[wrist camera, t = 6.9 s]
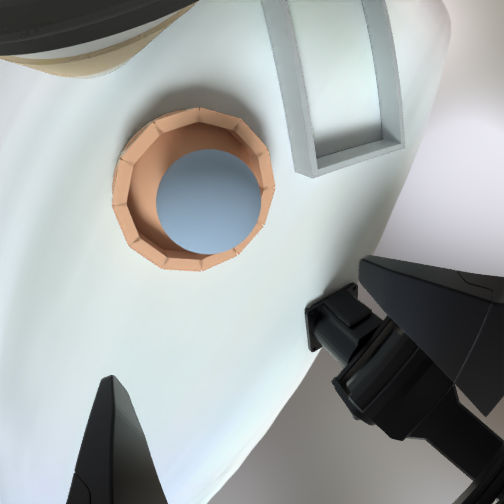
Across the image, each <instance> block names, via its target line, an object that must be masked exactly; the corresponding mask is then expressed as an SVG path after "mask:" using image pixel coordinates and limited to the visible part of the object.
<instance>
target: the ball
mask: <svg viewBox="0 0 504 504" xmlns="http://www.w3.org/2000/svg"><path fill="white" fill-rule="evenodd" d="M156 209H157V215H158V218H159V221H160V223H161V226H162V228H163V229H164V231H165V232H166V234H167V235H168V236H169V237H170V238H171V239H172V240H173V241H174V242H175V243H176V244H178V245H179V246H181V247H182V248H184V249H186V250H188V251H191V252H195V253H199V254H217V253H222V252H225V251H228V250H230V249H232V248H234V247H236V246H237V245H239V244H240V243H241V242H242V241H244V240H245V239H246V238H247V237H248V236H249V234H250V233H251V232H252V230H253V229H254V227H255V225H256V223H257V221H258V218H259V215H260V210H261V192H260V188H259V184H258V182H257V179H256V177H255V175H254V174H253V172H252V171H251V169H250V168H249V167H248V166H247V165H246V164H245V163H244V162H243V161H242V160H241V159H239V158H238V157H236V156H234V155H232V154H230V153H228V152H225V151H221V150H215V149H203V150H198V151H194V152H191V153H188V154H186V155H184V156H182V157H181V158H179V159H178V160H176V161H175V162H174V163H173V164H172V165H171V166H170V167H169V168H168V169H167V171H166V172H165V174H164V175H163V177H162V179H161V181H160V183H159V186H158V190H157V196H156Z"/></svg>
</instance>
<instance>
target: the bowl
mask: <svg viewBox="0 0 504 504" xmlns="http://www.w3.org/2000/svg"><path fill="white" fill-rule="evenodd" d="M203 149H215V150H221V151H225V152H228V153H230V154H232V155H234V156H236V157H238V158H239V159H241V160H242V161H243V162H244V163H245V164H246V165H247V166H248V167H249V168H250V169H251V171H252V172H253V174H254V175H255V177H256V179H257V182H258V184H259V188H260V192H261V210H260V215H259V218H258V221H257V223H256V225H255V227H254V229H253V230H252V232H251V233H250V234H249V236H248V237H247V238H246V239H245V240H244V241H242V242H241V243H240V244H239V245H237V246H236V247H234V248H232V249H230V250H228V251H225V252H222V253H217V254H199V253H195V252H191V251H188V250H186V249H184V248H182V247H181V246H179V245H178V244H176V243H175V242H174V241H173V240H172V239H171V238H170V237H169V236H168V235H167V234H166V232H165V231H164V229H163V228H162V226H161V223H160V221H159V218H158V215H157V209H156V196H157V190H158V186H159V183H160V181H161V179H162V177H163V175H164V174H165V172H166V171H167V169H168V168H169V167H170V166H171V165H172V164H173V163H174V162H175V161H176V160H178V159H179V158H181V157H182V156H184V155H186V154H188V153H191V152H194V151H198V150H203ZM267 149H268V148H267V147H266V146H265V145H264V144H263V142H262V141H261V140H260V139H259V138H258V137H257V136H256V134H255V133H254V132H253V131H252V130H251V129H250V128H249V127H248V125H247V124H246V123H245V122H244V121H243V120H242V119H241V118H237V117H234V116H230V115H227V114H223V113H220V112H216V111H212V110H209V109H205V108H201V107H199V108H198V107H197V108H191V109H186V110H178V111H174V112H170V113H167V114H164V115H162V116H159V117H157V118H156V119H154V120H152V121H150V122H149V123H147V124H146V125H145V126H143V127H142V128H141V129H140V130H139V131H138V132H137V133H136V134H135V135H134V136H133V137H132V138H131V139H130V140H129V142H128V143H127V144H126V146H125V148H124V149H123V151H122V153H121V155H120V157H119V159H118V162H117V164H116V167H115V171H114V175H113V183H112V208H113V210H114V213H115V215H116V218H117V220H118V222H119V225H120V227H121V230H122V232H123V234H124V237H125V239H126V241H127V244H128V246H130V248H132V249H133V250H135V251H136V252H137V253H139V254H140V255H142V256H143V257H145V258H146V259H148V260H149V261H151V262H152V263H154V264H155V265H157V266H158V267H160V268H161V269H162V268H163V269H167V270H184V271H201V270H202V271H204V270H206V269H208V268H211V267H213V266H215V265H217V264H220V263H222V262H224V261H227V260H229V259H231V258H233V257H236V256H237V254H238V255H239V254H240V252H241V251H242V250H243V249H244V248H245V247H246V246H247V245H248V243H249V242H250V241H251V240H252V239H253V238H254V237H255V235H256V234H257V233H258V232H259V231H260V230H261V229H262V228H263V225H265V221H266V218H267V215H268V211H269V208H270V205H271V201H272V198H273V194H274V191H275V188H273V187H275V182H274V177H273V171H272V166H271V161H270V155H269V150H267ZM262 224H263V225H262ZM236 253H237V254H236Z"/></svg>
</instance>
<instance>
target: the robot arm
mask: <svg viewBox="0 0 504 504" xmlns="http://www.w3.org/2000/svg"><path fill="white" fill-rule="evenodd" d="M358 278H359V281H360V283H361V284H362V286H363V287H364V288H365V289H366V290H367V292H368V293H369V294H370V295H371V296H372V297H373V299H374V300H375V301H376V302H377V304H378V305H379V306H380V307H381V308H382V309H383V311H384V312H385V313H386V314H387V317H386V318H385V319H384V320H382V319H381V318H379V317H378V316H377V315H376V314H374V313H373V312H372V310H371V309H370V308H369V307H367V306H366V305H365V304H364V303H362V302H361V301H360V300H358V298H357V297H358V285H357V284H356V283H351V284H349V285H348V286H346V287H344V288H343V289H341V290H339V291H338V292H336V293H334V294H332V295H331V296H329V297H327V298H325V299H324V300H322V301H320V302H318V303H316V304H315V305H313V306H311V307H309V308H308V309H307V310H306V311H305V319H306V328H307V337H308V346H309V350H310V351H311V352H315V351H316V350H318V349H320V348H321V347H324V349H326V351H327V352H328V353H329V354H330V355H331V356H332V357H333V358H334V359H335V360H336V361H337V362H338V363H339V364H340V365H341V366H342V367H343V368H344V369H343V370H342V371H341V372H340V373H339V374H338V375H337V377H334V378H333V380H332V381H331V382H332V384H333V385H334V386H335V390H336V391H337V393H338V394H339V396H340V397H341V398H342V400H343V401H344V403H345V404H346V406H347V407H348V408H349V410H350V412H351V414H352V416H353V417H354V419H356V420H362V421H364V422H365V423H367V424H369V425H375V424H376V425H377V426H378V427H380V428H381V429H382V430H383V431H384V432H385V433H386V434H387V435H388V436H389V437H390V438H392V439H395V440H400V441H403V440H404V439H405V438H411V439H420V440H426V441H427V442H428V443H430V444H431V445H432V446H433V447H434V448H436V449H437V450H438V451H439V452H440V453H441V454H442V455H443V456H445V457H446V458H447V459H448V460H449V461H451V462H452V463H453V464H454V465H455V466H456V467H457V468H459V469H460V470H461V471H462V472H463V473H465V474H466V475H467V476H468V477H469V478H470V479H472V480H473V482H472V483H471V485H470V486H469V487H468V488H467V489H466V490H465V491H464V492H463V493H462V494H461V495H460V496H459V498H458V499H457V500H456V501H455V502H454V503H453V504H492V503H493V502H494V501H495V499H496V500H497V501H498V502H497V503H496V504H504V439H503V438H502V437H501V436H499V435H498V434H497V433H496V432H495V431H494V430H493V429H492V428H490V427H489V426H488V425H487V424H486V423H484V422H483V421H482V420H481V419H480V418H479V417H478V416H477V415H475V414H474V413H473V412H472V411H471V410H470V409H469V408H467V407H466V406H465V405H464V404H463V403H462V402H460V401H459V398H458V395H457V391H456V387H455V384H456V386H457V387H458V388H459V389H460V390H461V391H462V392H463V393H464V394H465V395H466V397H467V398H468V399H469V400H470V401H471V402H472V403H473V404H474V405H475V406H476V408H477V409H478V410H479V411H480V412H481V413H482V414H483V415H484V416H485V417H487V416H488V414H489V413H490V412H491V411H492V410H493V409H494V407H495V406H496V405H497V404H498V403H499V401H500V400H501V399H502V398H503V396H504V277H498V276H490V275H481V274H474V273H467V272H462V271H455V270H452V269H446V268H440V267H435V266H429V265H423V264H418V263H413V262H407V261H401V260H396V259H389V258H383V257H378V256H372V255H367V256H365V257H364V258H362V259H360V261H359V275H358ZM66 504H168V503H167V500H166V497H165V495H164V492H163V489H162V487H161V484H160V481H159V478H158V476H157V473H156V470H155V467H154V464H153V461H152V458H151V454H150V451H149V448H148V445H147V441H146V438H145V435H144V433H143V430H142V428H141V425H140V423H139V420H138V418H137V415H136V413H135V410H134V407H133V405H132V402H131V399H130V397H129V394H128V392H127V390H126V389H125V388H124V386H123V385H122V384H121V383H120V382H119V380H118V379H117V378H116V377H115V376H114V375H110V376H107V377H105V378H103V379H102V380H101V382H100V385H99V388H98V391H97V394H96V397H95V400H94V403H93V406H92V409H91V413H90V416H89V419H88V423H87V426H86V429H85V433H84V436H83V440H82V444H81V447H80V451H79V455H78V459H77V463H76V467H75V473H74V474H73V479H72V483H71V487H70V491H69V495H68V499H67V502H66Z"/></svg>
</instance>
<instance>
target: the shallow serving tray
mask: <svg viewBox="0 0 504 504" xmlns="http://www.w3.org/2000/svg"><path fill="white" fill-rule="evenodd" d="M261 3H262V7H263V11H264V15H265V19H266V24H267V28H268V32H269V37H270V41H271V46H272V50H273V55H274V60H275V64H276V69H277V74H278V79H279V84H280V89H281V94H282V99H283V105H284V110H285V115H286V121H287V126H288V132H289V138H290V144H291V150H292V156H293V162H294V168H295V172H297V173H300V174H302V175H305V176H308V177H311V178H315V177H318V176H321V175H324V174H327V173H330V172H333V171H336V170H339V169H341V168H344V167H347V166H350V165H353V164H356V163H359V162H362V161H365V160H369V159H372V158H375V157H378V156H381V155H384V154H387V153H390V152H394V151H397V150H400V149H403V148H405V143H404V124H403V110H402V99H401V89H400V80H399V73H398V65H397V59H396V52H395V46H394V41H393V35H392V30H391V25H390V20H389V16H388V11H387V7H386V3H385V0H362V4H363V8H364V13H365V17H366V21H367V26H368V31H369V36H370V41H371V47H372V53H373V58H374V65H375V71H376V78H377V86H378V94H379V102H380V112H381V123H382V136H383V139H382V140H379V141H375V142H371V143H368V144H364V145H360V146H357V147H353V148H350V149H346V150H343V151H339V152H336V153H333V154H329V155H326V156H323V157H320V158H316V152H315V145H314V138H313V131H312V125H311V118H310V112H309V106H308V100H307V94H306V89H305V83H304V78H303V72H302V67H301V62H300V57H299V52H298V47H297V43H296V38H295V34H294V29H293V25H292V20H291V16H290V12H289V8H288V4H287V0H261Z"/></svg>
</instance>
